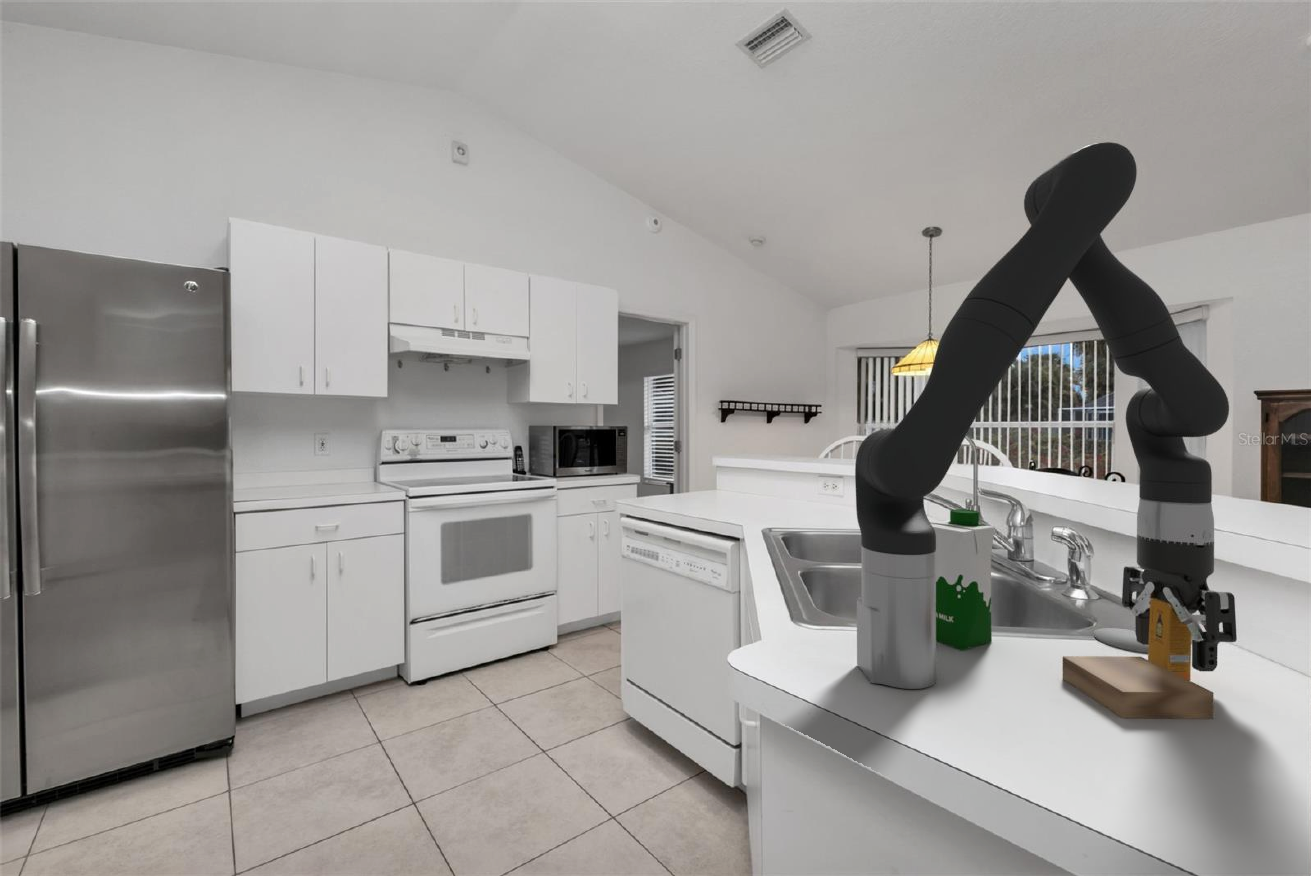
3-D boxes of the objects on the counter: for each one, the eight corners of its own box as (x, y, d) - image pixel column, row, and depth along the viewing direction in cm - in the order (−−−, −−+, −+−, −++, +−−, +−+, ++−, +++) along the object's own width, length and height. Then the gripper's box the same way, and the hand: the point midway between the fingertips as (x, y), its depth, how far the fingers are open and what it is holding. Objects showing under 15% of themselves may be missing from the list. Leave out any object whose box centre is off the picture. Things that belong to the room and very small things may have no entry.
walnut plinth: (1122, 717, 64) (1122, 691, 64) (1062, 678, 74) (1062, 656, 74) (1213, 718, 64) (1213, 692, 64) (1140, 679, 74) (1140, 656, 74)
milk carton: (1001, 642, 87) (1001, 513, 86) (963, 654, 83) (963, 518, 82) (948, 625, 94) (948, 506, 94) (912, 634, 90) (911, 510, 90)
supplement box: (1194, 681, 73) (1195, 604, 73) (1167, 681, 73) (1167, 604, 73) (1171, 670, 76) (1172, 597, 76) (1145, 670, 77) (1146, 597, 76)
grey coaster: (1124, 653, 82) (1124, 650, 82) (1080, 631, 91) (1080, 628, 91) (1188, 653, 82) (1188, 650, 82) (1137, 631, 91) (1137, 628, 91)
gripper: (1104, 525, 82) (1103, 636, 82) (1194, 546, 67) (1193, 680, 68) (1157, 525, 81) (1156, 636, 82) (1259, 545, 67) (1258, 680, 67)
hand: (1173, 656), depth 75 cm, fingers open, 8 cm apart
